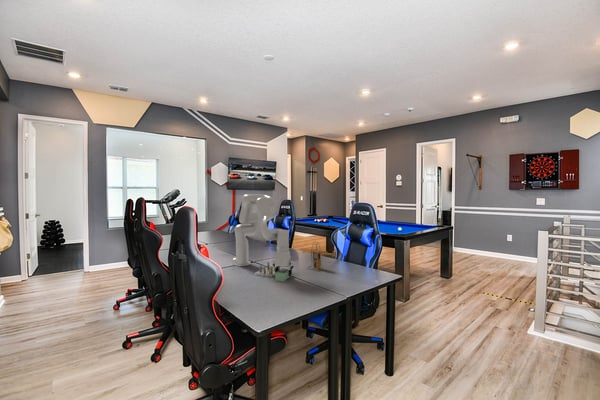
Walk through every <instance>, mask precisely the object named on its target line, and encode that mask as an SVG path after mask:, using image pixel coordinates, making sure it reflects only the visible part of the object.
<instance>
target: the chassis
mask: <svg viewBox="0 0 600 400" xmlns="http://www.w3.org/2000/svg"><path fill="white" fill-rule="evenodd" d="M266 265H267V267H266V266H263V265H262V264H261V265H259V270H258V271H256V272H254V275H255V276H261V277H269V278H273V277H275V268H274V266H273V265H271V266H270V261H268V262H267V264H266ZM278 268H279V270H281V269H282V268H283V267H280V266H278Z"/></svg>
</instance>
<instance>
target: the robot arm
mask: <svg viewBox="0 0 600 400" xmlns="http://www.w3.org/2000/svg"><path fill="white" fill-rule="evenodd" d="M253 206H254V207H256V208H257V210H258V212H259V213H258V212H257V211H255V210H253V208H254V207H253ZM275 207H276V201H275V198H273V197H272V196H269V195H266V194H262V193H260V194H259V193H258V194H256V193H249V194H248V193H247V194H244V195H243V196H242V198H241V208H240V213H239V217H238V218H239V219H238V221H239V223H240V224H237V225H236V226H235V227H234V231H233V232H234V236H235V257H234V258H233V259H232V261H233V262H234V264H233V265H234V266H236V267H245V266H246V267H247V266H250V265H251V264H252V263H251V261H249V260H250V259H249V240H248V239H247V236H254V235H255V234H256V233H257V230H258V226H259V225H260V232H261V235H262V236H263V239H264V240H265V241H267V242H271V241H276V242H277V243H276V246H275V249H276V251H275V256H274V260H271V264H272V267H274V268H275V273H276V272H278V271H279V268H278V266H280V268H287V269H289V270H288V276H290V277H291V276H292V274H293V269H294V268H295V265H296V262H294V261H293V260H292V257H291V252H290V248H289V247H290V246H289V245H290V244H289V238H290V237H289V234H290V233H289V230H287V229H282V228H280V227H279V228H270V229H269V227H268V225H267V222H269V221H270V220H271V219H273V217H274V212H273V210H272V209H274V208H275ZM260 217H261V222H259V221H260ZM259 223H260V224H259Z"/></svg>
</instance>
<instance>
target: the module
mask: <svg viewBox="0 0 600 400" xmlns="http://www.w3.org/2000/svg"><path fill="white" fill-rule="evenodd" d="M281 268H282V269H281V270H279V271H278V272H276V273H275V276H274V278H275V279H274V281H277V282H285V281H287V280H288V279H289V278H291V276H288V270H289V269H288V268H286V267H281Z"/></svg>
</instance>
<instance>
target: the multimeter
mask: <svg viewBox="0 0 600 400" xmlns="http://www.w3.org/2000/svg"><path fill="white" fill-rule="evenodd" d="M314 243H316V245H315V246H316V247H315V250H313V249H312V250H311V253H310V254H311V258H312V265H310V266H309V268H310V267H312V270H313V271H316V272H317V271H320V270H321V269H322V270H321V272H323V270H324V267H323V265H322V261H321V260H322V258H321V257H322V255H321V253H322V252H321V250H318V247H319V248H321V246H320V245H319V244H320V242H317V241H313V243H312V246H311V248H313V247H314ZM315 269H316V270H315Z"/></svg>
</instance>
